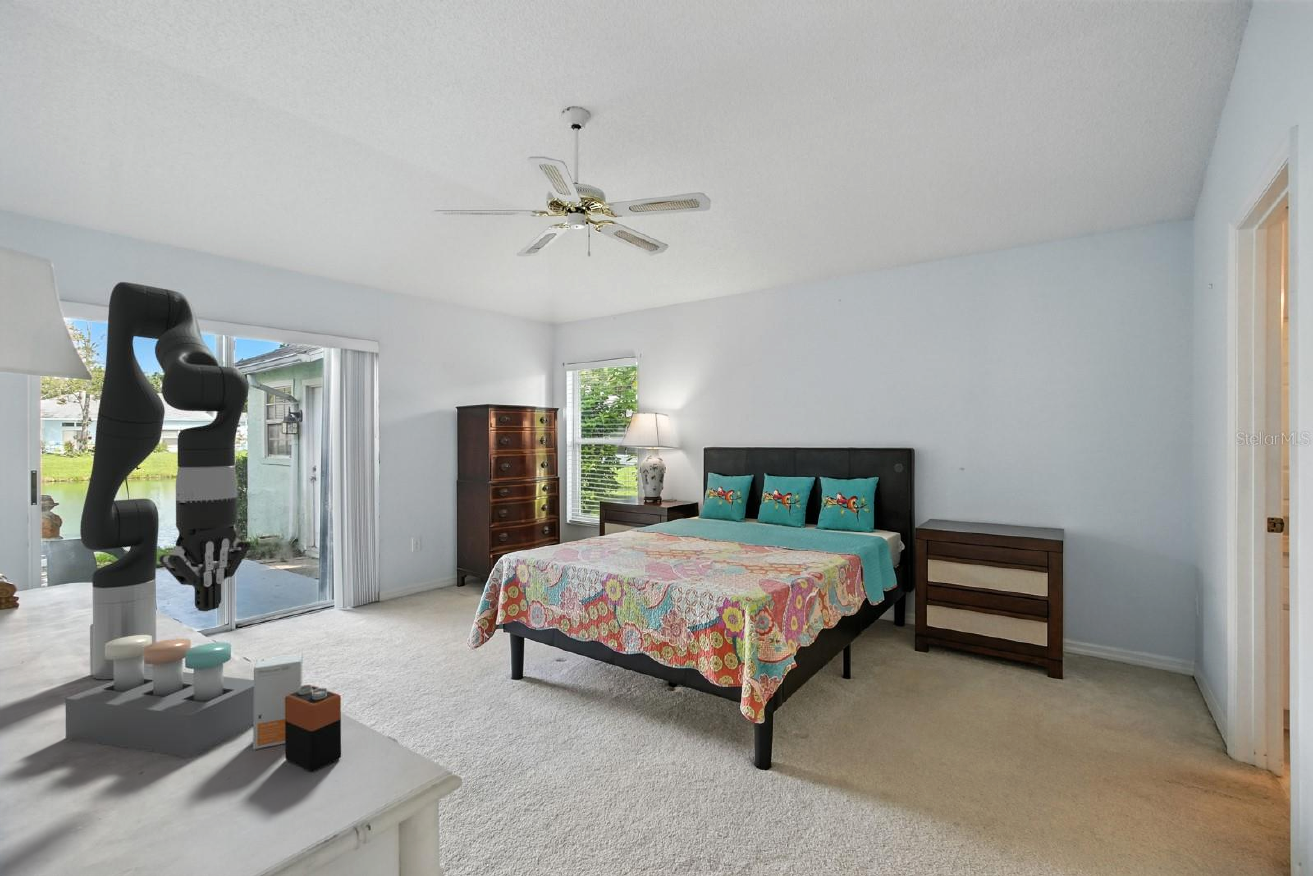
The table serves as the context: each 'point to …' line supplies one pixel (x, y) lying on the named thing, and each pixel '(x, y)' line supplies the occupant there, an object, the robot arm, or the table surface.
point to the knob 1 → (128, 660)
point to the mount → (160, 716)
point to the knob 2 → (208, 669)
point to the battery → (312, 727)
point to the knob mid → (167, 665)
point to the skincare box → (274, 696)
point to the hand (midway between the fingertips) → (208, 609)
